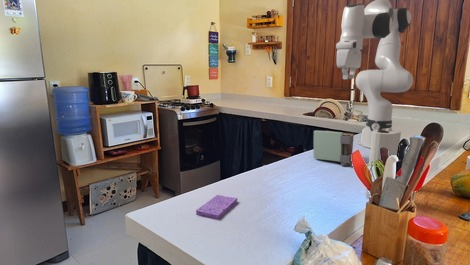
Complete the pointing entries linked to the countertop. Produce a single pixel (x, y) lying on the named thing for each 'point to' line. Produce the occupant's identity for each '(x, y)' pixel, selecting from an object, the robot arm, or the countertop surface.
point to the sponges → (216, 206)
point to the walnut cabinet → (346, 150)
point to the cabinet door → (331, 146)
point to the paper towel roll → (383, 145)
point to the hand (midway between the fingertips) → (348, 79)
